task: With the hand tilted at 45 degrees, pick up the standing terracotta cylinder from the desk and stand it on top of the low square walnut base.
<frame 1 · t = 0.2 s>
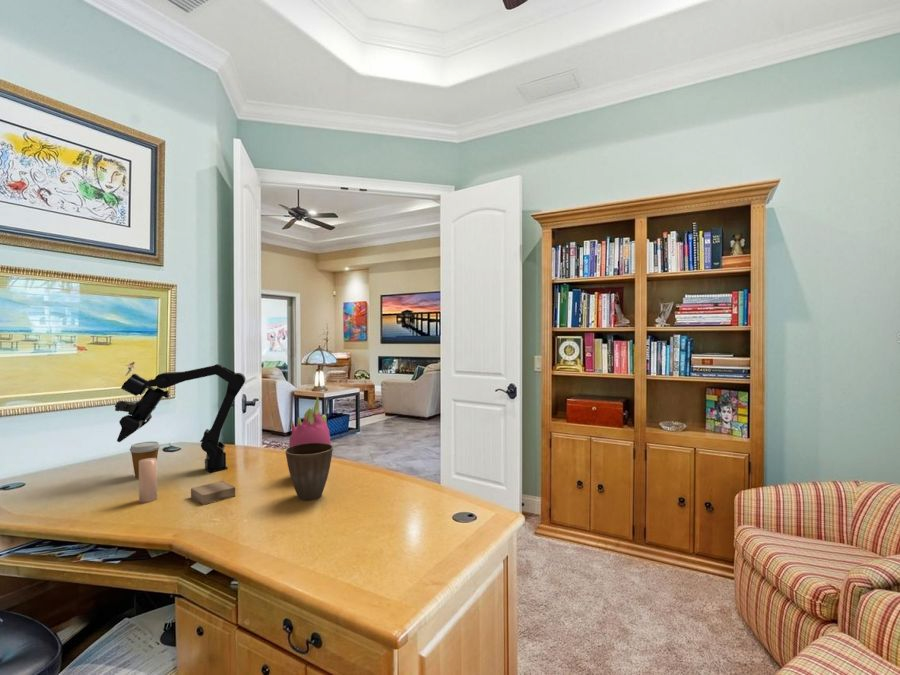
hand: (122, 438, 167), 15 cm above the table, tool tilted 35°, fingers open, 9 cm apart
pink dragon fruit: (310, 476, 170), on the table
plant pot: (309, 497, 148), on the table
base: (213, 496, 148), on the table
pillar: (148, 500, 145), on the table
disposable coffee cup: (145, 476, 170), on the table
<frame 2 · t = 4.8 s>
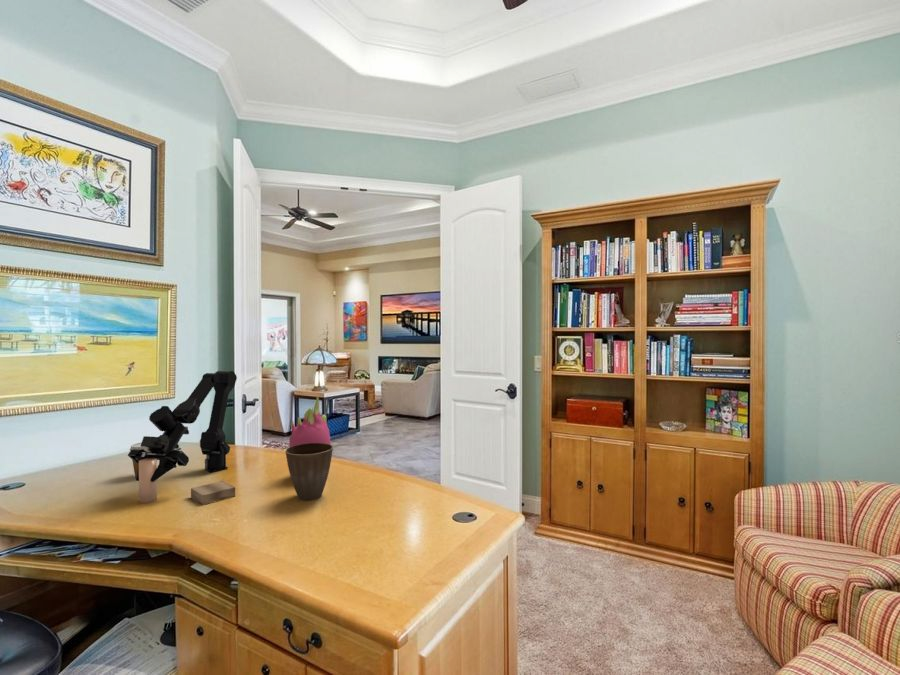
hand: (144, 481, 144), 7 cm above the table, tool tilted 45°, fingers closed on pillar, 5 cm apart
pillar: (148, 500, 145), on the table, touching gripper
everything else where it was.
when the fingers open (10 cm above the table, at t = 9.3 s): pillar stays where it is, resting on base.
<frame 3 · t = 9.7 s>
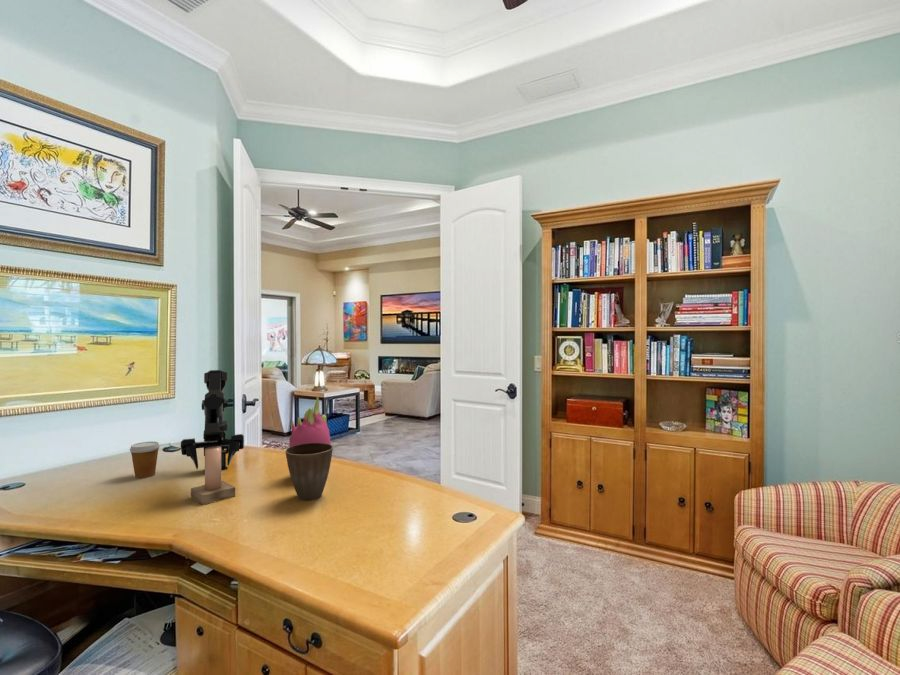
hand: (212, 466, 147), 10 cm above the table, tool tilted 45°, fingers open, 9 cm apart
pillar: (213, 487, 148), point 3 cm above the table, touching base
everything else where it was.
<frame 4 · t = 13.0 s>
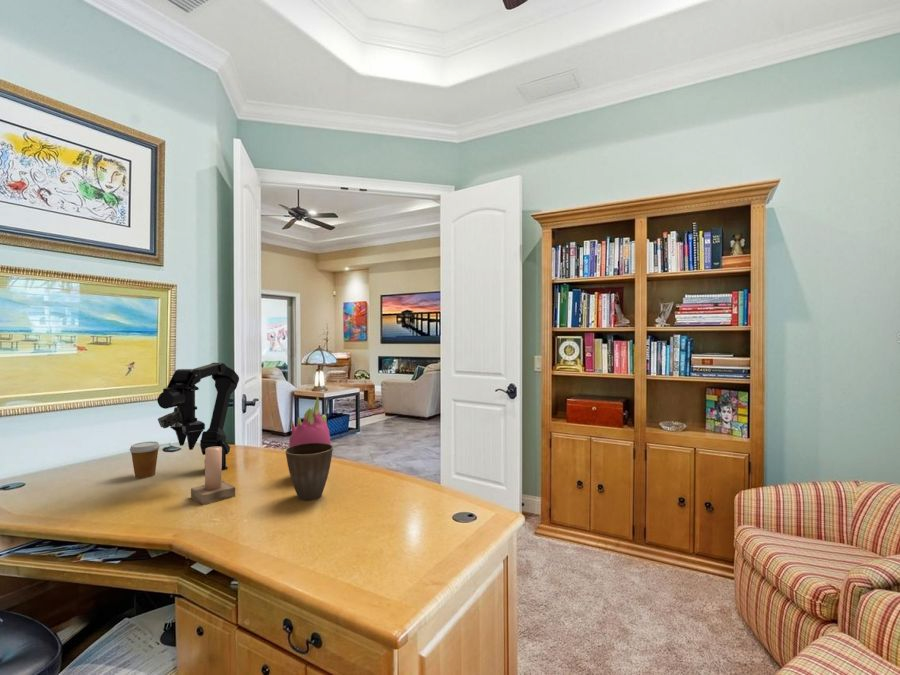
hand: (186, 447, 161), 13 cm above the table, tool pointing down, fingers open, 9 cm apart
nothing on the table moved.
at the end: pillar inside the target area on the base (0.1 cm from its centre), point 3.0 cm above the base's base; pillar tilted 1°; the gripper is holding nothing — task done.
